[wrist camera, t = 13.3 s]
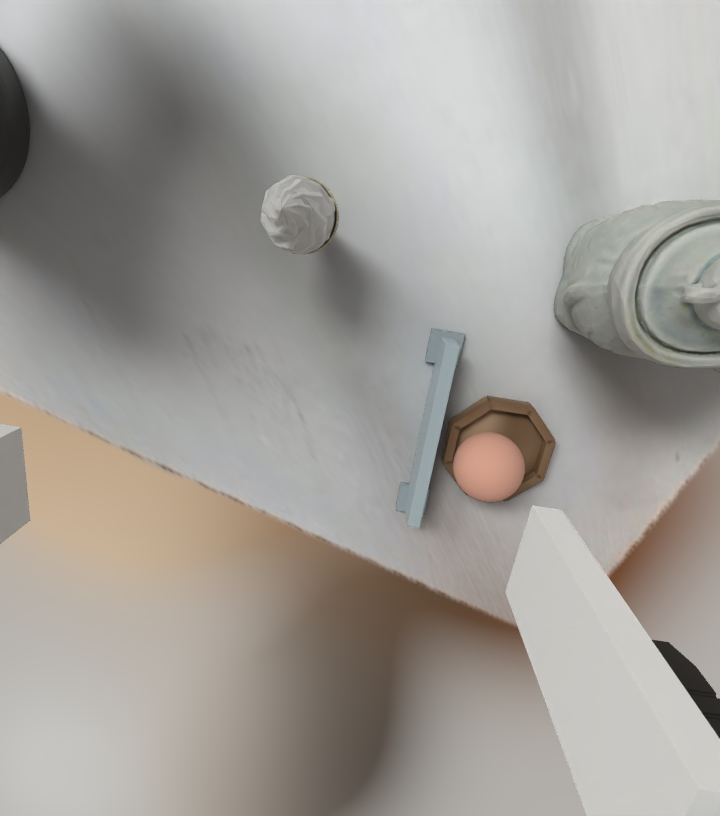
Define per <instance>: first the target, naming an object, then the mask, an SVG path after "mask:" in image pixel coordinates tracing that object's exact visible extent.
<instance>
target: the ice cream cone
mask: <svg viewBox="0 0 720 816" xmlns="http://www.w3.org/2000/svg"><path fill="white" fill-rule="evenodd" d="M338 221H339V213H338V207H337V204H336V201H335V199H334V197H333V195H332V193H331V192H330V191H329V189H328V188H327V187H326V186H325V185H324V184H322V183H321V182H319V181H318V180H315V179H313V178H309V177H303V176H298V175H289V176H288V177H286V178H284V179H283V180H281V181H279V182H277V183H275V184H274V185H272V186H271V187H270V188H269V189H268V190H267V191H266V192H265V196H264V201H263V205H262V213H261V223H262V224H263V226H264V228H265V230H266V231H267V233H268V235H269V237H270V238H271V240H272V241H273V243H274V244H275V246H276V247H281V248H282V249H284V250H287V251H289V252H291V253H293V254H310V253H314V252H317V251H319V250H321V249H322V248H324V247H325V246H326V245H327V244H328V243H329V242H330V241H331V240H332V238H333V236H334V235H335V232H336V230H337V226H338Z"/></svg>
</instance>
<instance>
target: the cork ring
mask: <svg viewBox="0 0 720 816" xmlns="http://www.w3.org/2000/svg"><path fill="white" fill-rule="evenodd" d="M482 432H493V433H498V434H501V435H503V436H505V437H507V438H509V439H510V440H511V441H513V442H514V443H515V444H516V445H517V447H518V448H519V449H520V451H521V453H522V456H523V458H524V463H525V474H524V478H523V481H522V483H521V485H520V486H519V488H518V489H517V490H516V491H515V492H514V493H513V494H512V495H511V496H509V497H507V498H506V499H503V501H506V500H507V501H508V500H510V499H511V498H513V497H515V496H516V495H518V494H520V493H522V492H523V491H525V490H527V489H528V488H530V487H532V486H534V485H535V484H537V483H539V482H541V481H542V480H543V479H544V478H545V474H546V471H547V468H548V465H549V462H550V458H551V455H552V452H553V449H554V446H555V439H554V437H553V436H552V434H551V433H550V431H549V430H548V428H547V427H546V425H545V424H544V422H543V421H542V419H541V418H540V416H539V415H538V413H537V412H536V410H535V409H534V407H533V406H532V405H531V404H530V403H528V402H523V401H516V400H510V399H503V398H497V397H491V396H487V397H486V396H485V397H484V398H482V399H481V400H479V401H478V402H476V403H475V404H473V405H472V406H470V407H468V408H467V409H465V410H464V411H462V412H461V413H459V414H458V415H456V416H454V417H453V418H451V420H450V421H449V425H448V429H447V434H446V438H445V443H444V447H443V451H442V456H441V458H442V462H443V465H444V466H445V467H446V469H447V470H448V471H449V473H450V474H451V475H452V477H453V478H454V480H455V481H456V478H455V476H454V471H453V460H454V456H455V453H456V451H457V449H458V447H459V446H460V445H461V444H462V443H463V442H464V441H465V440H466V439H467V438H469V437H471V436H472V435H475V434H478V433H482ZM456 482H457V481H456ZM457 484H458V483H457ZM460 488H461V487H460ZM463 492H464V491H463ZM464 493H465V492H464ZM465 494H466V493H465ZM466 495H468V494H466Z"/></svg>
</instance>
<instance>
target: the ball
mask: <svg viewBox="0 0 720 816" xmlns="http://www.w3.org/2000/svg"><path fill="white" fill-rule="evenodd" d="M453 471H454V476H455V478H456V481H457V483H458V485H459V486H460V487H461V489H462V490H463V491H464V492H465V493H466V494H468V495H469V496H471V497H473V498H475V499H477V500H480V501H484V502H496V501H500V500H503V499H506V498H507V497H509V496H511V495H512V494H513V493H514V492H515V491H516V490H517V489H518V488H519V486H520V485H521V483H522V481H523V478H524V474H525V463H524V458H523V456H522V453H521V451H520V449H519V448H518V447H517V445H516V444H515V443H514V442H513V441H511V440H510V439H509V438H507V437H505V436H503V435H501V434H498V433H493V432H482V433H478V434H475V435H472V436H471V437H469V438H467V439H466V440H465V441H464V442H463V443H462V444H461V445H460V446H459V447H458V449H457V451H456V453H455V456H454V460H453Z"/></svg>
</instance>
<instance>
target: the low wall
mask: <svg viewBox="0 0 720 816" xmlns="http://www.w3.org/2000/svg"><path fill="white" fill-rule="evenodd" d="M464 337H465V334H463V333H456V332H450V331H443V330H437V329H431V334H430V339H429V344H428V349H427V354H426V359H425V361H426V362H431V363H434V367H433V372H432V377H431V382H430V386H429V391H428V396H427V401H426V406H425V411H424V415H423V420H422V425H421V430H420V435H419V439H418V444H417V449H416V454H415V459H414V464H413V468H412V473H411V478H410V483H409V484H408V483H402V482H401V483H400V488H399V493H398V498H397V503H396V511H402V512H406V520H407V526H409V527H415V528H419V527H420V523H421V518H422V515H424V514H425V510H426V505H427V501H428V497H429V492H430V487H429V483H430V478H431V474H432V469H433V465H434V460H435V456H436V451H437V447H438V442H439V438H440V433H441V429H442V424H443V420H444V415H445V411H446V406H447V402H448V398H449V393H450V389H451V384H452V380H453V375H454V371H455V366H456V367H458V363H459V359H460V354H461V350H462V345H463V341H464Z"/></svg>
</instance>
